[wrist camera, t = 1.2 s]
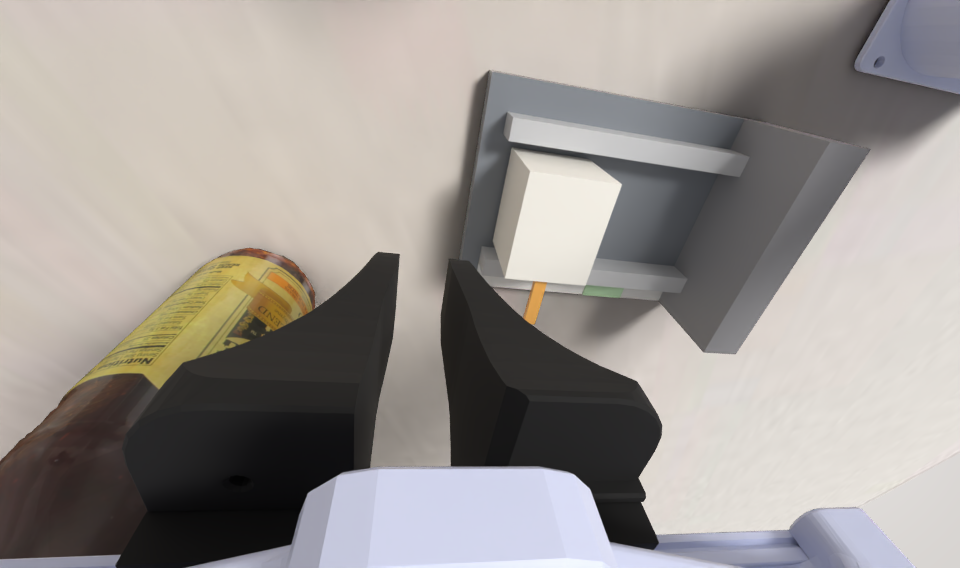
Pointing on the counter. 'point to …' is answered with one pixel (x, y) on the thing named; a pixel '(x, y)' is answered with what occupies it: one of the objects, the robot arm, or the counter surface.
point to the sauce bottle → (132, 408)
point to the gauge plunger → (551, 220)
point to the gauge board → (667, 198)
